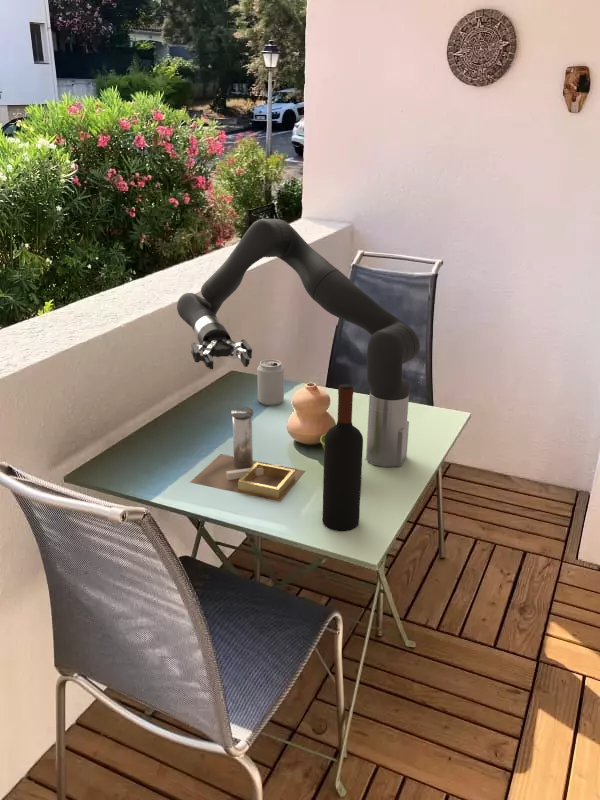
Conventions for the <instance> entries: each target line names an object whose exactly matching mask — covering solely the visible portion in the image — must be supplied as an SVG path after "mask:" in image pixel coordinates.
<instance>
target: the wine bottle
mask: <svg viewBox="0 0 600 800" xmlns="http://www.w3.org/2000/svg"><path fill="white" fill-rule="evenodd" d="M337 391H338V392H337V395H338V396H337V398H338V400H337V421H336V424H334V425H333V426H332V427H330V428H329V429H328V431H326V432H325V433H326V435H325V445H324V448H323V454H324V455H323V459H324V460H323V482H322V483H323V485H322V487H323V488H322V519H321V521H322V524H323V525H324V526H325V528H326V529H329V530H332V531H334V532H342V533H343V532H348V531H352V530H355V529H356V528H358V526H359V523H360V510H361V508H360V507H361V493H362V492H361V490H362V489H361V488H362V470H363V469H362V468H363V453H364V452H363V451H364V449H363V448H364V437H363V435H362V433H361V431H360V430H359V429H358V428H357V427H355V425H353V422H352V421H353V399H354V398H353V397H354V386H353V385H352V384H348V383H343V384H342V383H341V384H339V385H338V390H337Z"/></svg>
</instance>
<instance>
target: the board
mask: <svg viewBox="0 0 600 800" xmlns="http://www.w3.org/2000/svg"><path fill="white" fill-rule="evenodd" d="M256 462H258V463H263V464H268V465H274V464H273V463H267V462H262V461H258V460H253V465H254V464H255V463H256ZM283 468H288V469H293V470H295V480H294V481H293V483H292V484H291V485H290V486H289V487H288V489H287V490H286V491H285V492H284V493H283V495H282V496H281V497H280V498H279V499H275V498H270V497H265V496H261V495H256V494H251V493H247V492H242V491H238V481H239V480H240V479H241V478H238V479H231V480H228V479H227V475H226V471H232V470H239V469H237V468H235V467H234V455H227V454H219V455H218V456H216V458H215V459H214V460H212V461H211V462H210V463H209V464H208V465H207V466H206V467H205V468H204V469H203V470H202V471H200V472H199V473H198V474H197V475H196V476H194V478H193V479H192V480H190V481H189V482H190V483H193V484H196V485H202V486H205V487H211V488H215V489H220V490H223V491H229V492H233V493H238V494H244V495H247V496H252V497H255V498H257V497H258V498H261V499H266V500H271V501H276V502H278V503H279V502H282V500H283V499H284V498H285V496H286V495H287V494H288V493H289V492H290V491H291V490H292V488H293V487H294V486H295V485H296V483H297V482H298V481H299V480H300V479H301V478H302V476H303V475H304V474H305V472H306V470H303V469H297V468H293V467H288V466H284V465H283ZM282 480H283V479H282V478H277V477H272V476H267V475H259V476H256V477H255V478H254V479H253V480H252V481H251V482H254V483H259V484H264V485H269V486H273V487H277V486H278V485H279V484H280V483H281V481H282Z"/></svg>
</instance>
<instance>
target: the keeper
mask: <svg viewBox="0 0 600 800" xmlns="http://www.w3.org/2000/svg"><path fill="white" fill-rule="evenodd" d="M258 462H259V461H258ZM258 462H256V463H255V464H254V465H253V466H252V467H251V468H250V469H249V470H248V471H247V472H246V473H245V475H244V476H243V477H242V478H241V479H240V480H239V481H238V491H242V492H247V493H251V494H256V495H261V496H265V497H270V498H275V499H279V498H280V497H281V496H282V495H283V493H284V492H285V491H286V490H287V489H288V487H289V486H290V485H291V484H292V483H293V481H294V480H295V470H293V469H288V468H283V467H278V466H273V465H268V464H263V463H258ZM257 468H263V469H264V475H267V476H272V477H277V478H282V479H283V480H282V481H281V483H280V484H279V485H278V486H277V487H273V486H269V485H264V484H259V483H254V482H251V481H252V480H253V479H254V478H255V477H256V469H257Z"/></svg>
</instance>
